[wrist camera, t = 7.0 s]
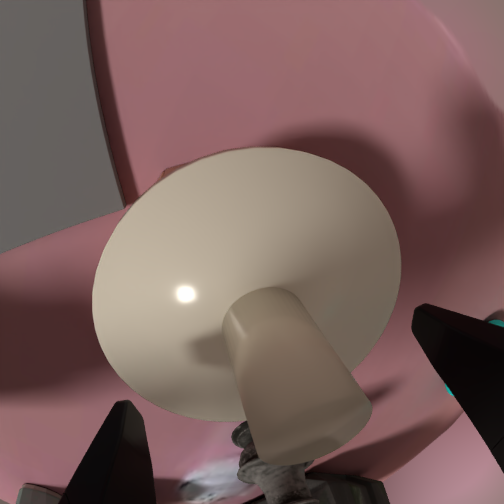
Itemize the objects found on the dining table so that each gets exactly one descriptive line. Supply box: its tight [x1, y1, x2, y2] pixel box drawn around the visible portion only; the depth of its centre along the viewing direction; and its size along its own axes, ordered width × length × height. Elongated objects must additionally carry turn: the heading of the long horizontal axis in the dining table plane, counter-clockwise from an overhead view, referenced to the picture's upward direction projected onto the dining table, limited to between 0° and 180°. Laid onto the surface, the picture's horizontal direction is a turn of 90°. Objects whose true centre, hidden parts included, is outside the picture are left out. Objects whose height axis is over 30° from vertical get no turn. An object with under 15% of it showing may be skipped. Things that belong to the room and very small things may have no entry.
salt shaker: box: [231, 421, 319, 504], centre depth 15 cm, size 6×6×12 cm
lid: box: [92, 146, 401, 465], centre depth 8 cm, size 11×11×5 cm
